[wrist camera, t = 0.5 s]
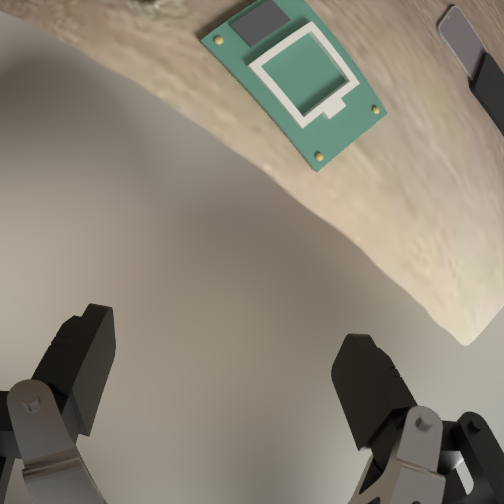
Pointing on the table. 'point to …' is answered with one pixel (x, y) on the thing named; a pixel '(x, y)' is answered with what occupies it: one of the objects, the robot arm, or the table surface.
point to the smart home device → (490, 89)
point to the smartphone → (461, 40)
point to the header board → (297, 76)
